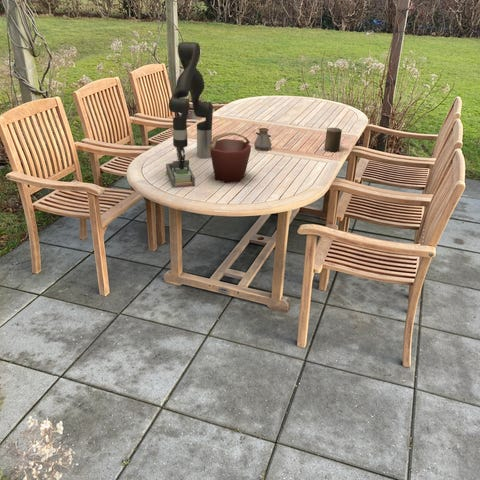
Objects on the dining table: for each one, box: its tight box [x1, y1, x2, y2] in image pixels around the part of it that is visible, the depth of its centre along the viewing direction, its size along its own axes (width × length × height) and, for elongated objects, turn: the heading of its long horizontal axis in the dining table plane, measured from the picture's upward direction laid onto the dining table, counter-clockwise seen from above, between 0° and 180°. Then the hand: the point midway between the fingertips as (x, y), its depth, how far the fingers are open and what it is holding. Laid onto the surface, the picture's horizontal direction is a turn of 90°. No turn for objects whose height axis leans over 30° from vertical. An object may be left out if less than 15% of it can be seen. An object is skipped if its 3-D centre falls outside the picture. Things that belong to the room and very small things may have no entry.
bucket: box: [209, 132, 252, 184], centre depth 277 cm, size 24×22×25 cm
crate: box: [172, 159, 191, 183], centre depth 271 cm, size 8×10×11 cm
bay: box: [165, 162, 196, 189], centre depth 277 cm, size 12×23×5 cm, turn 16°
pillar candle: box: [324, 127, 342, 153], centre depth 325 cm, size 10×10×15 cm
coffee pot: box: [253, 127, 273, 151], centre depth 319 cm, size 21×12×15 cm, turn 159°
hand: (181, 168), depth 271 cm, fingers closed on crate, 2 cm apart
